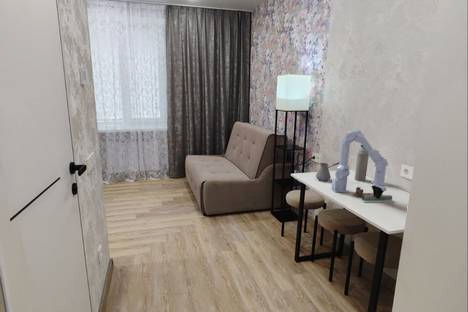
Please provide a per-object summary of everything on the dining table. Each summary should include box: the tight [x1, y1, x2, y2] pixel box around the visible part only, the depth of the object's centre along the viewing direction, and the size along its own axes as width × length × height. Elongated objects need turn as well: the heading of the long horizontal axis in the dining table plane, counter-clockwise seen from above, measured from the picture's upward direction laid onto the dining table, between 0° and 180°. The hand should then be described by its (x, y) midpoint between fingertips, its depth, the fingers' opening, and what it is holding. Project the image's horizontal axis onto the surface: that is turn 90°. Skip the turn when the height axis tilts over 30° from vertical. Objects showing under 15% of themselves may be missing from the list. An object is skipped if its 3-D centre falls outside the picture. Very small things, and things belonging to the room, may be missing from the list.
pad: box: [358, 197, 395, 204], centre depth 191 cm, size 20×7×1 cm, turn 93°
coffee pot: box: [315, 161, 340, 182], centre depth 231 cm, size 21×12×15 cm, turn 97°
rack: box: [352, 186, 374, 198], centre depth 199 cm, size 19×5×5 cm, turn 93°
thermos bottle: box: [354, 144, 370, 182], centre depth 230 cm, size 8×8×28 cm
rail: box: [361, 194, 393, 200], centre depth 191 cm, size 19×2×2 cm, turn 93°
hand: (376, 197), depth 191 cm, fingers closed on rail, 2 cm apart
